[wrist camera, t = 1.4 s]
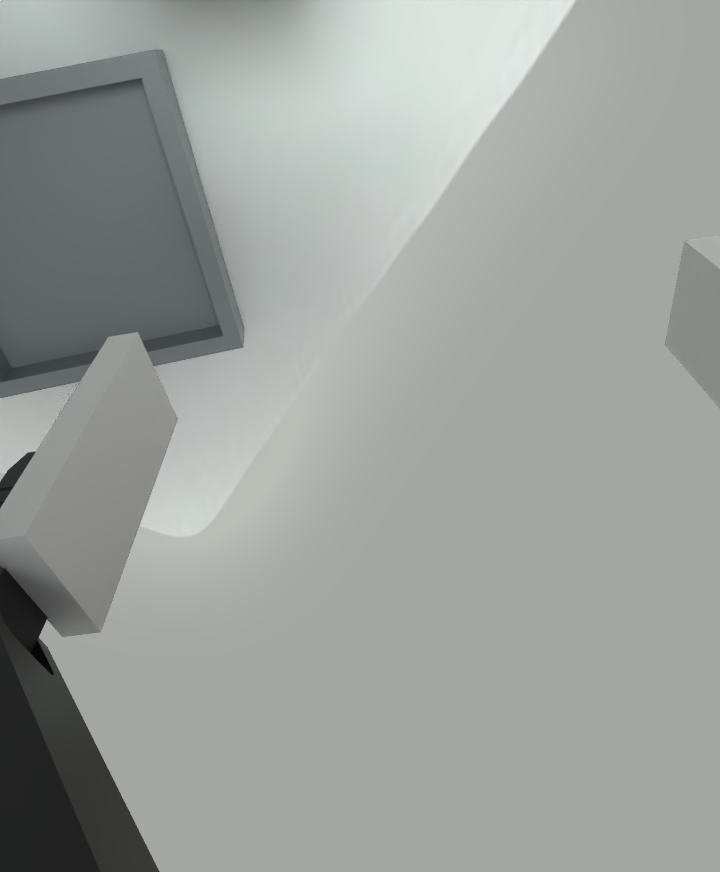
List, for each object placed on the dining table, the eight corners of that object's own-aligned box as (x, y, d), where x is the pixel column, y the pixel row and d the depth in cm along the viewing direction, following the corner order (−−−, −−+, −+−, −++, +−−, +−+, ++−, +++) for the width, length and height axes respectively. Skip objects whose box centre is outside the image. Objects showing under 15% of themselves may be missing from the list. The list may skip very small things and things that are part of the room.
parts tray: (-144, 108, 30) (-180, 113, 27) (162, 50, 30) (154, 50, 28) (10, 377, 39) (-7, 399, 36) (244, 328, 40) (243, 347, 37)
